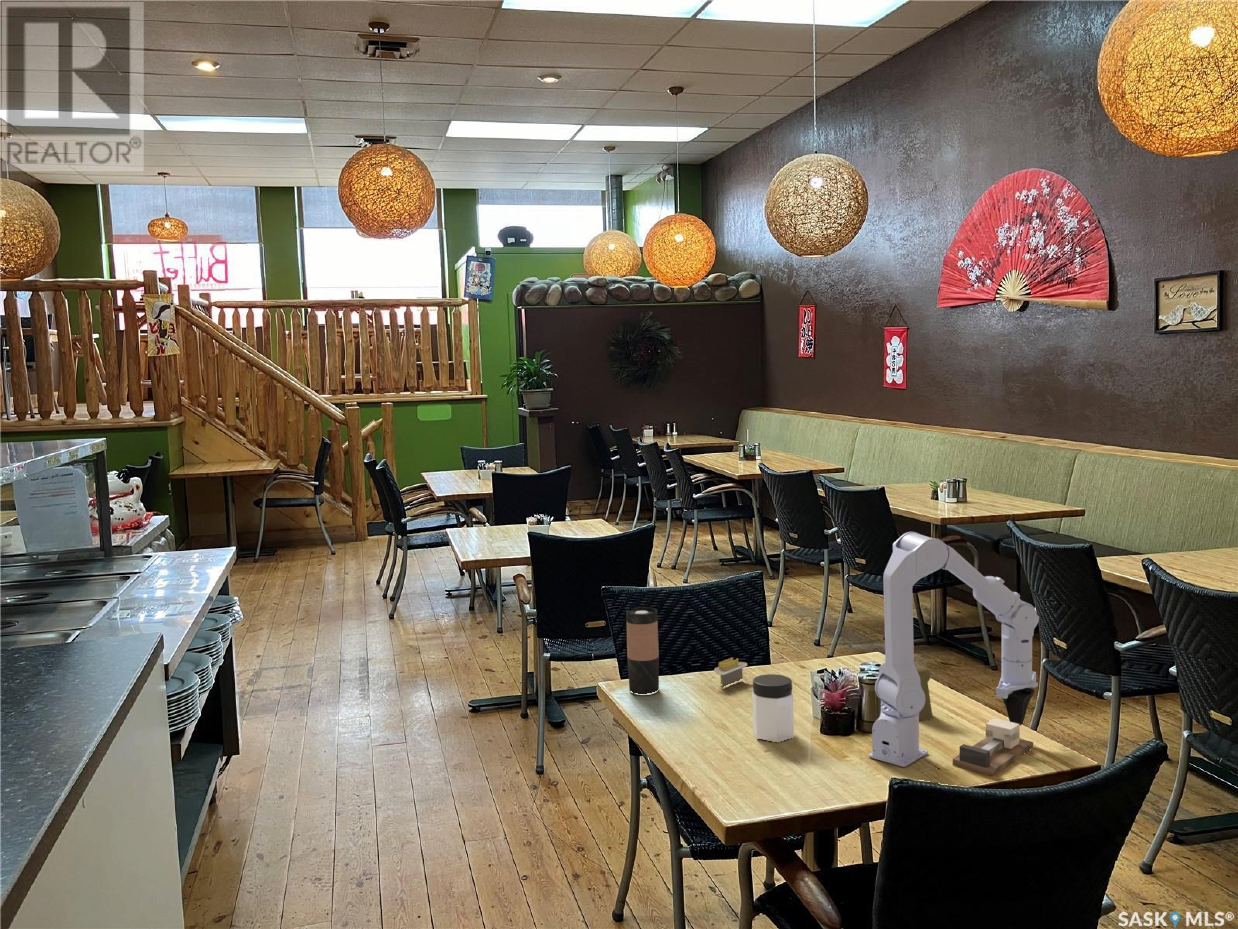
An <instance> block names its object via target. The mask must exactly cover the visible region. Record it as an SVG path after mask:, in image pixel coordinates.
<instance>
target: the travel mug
mask: <svg viewBox="0 0 1238 929" xmlns="http://www.w3.org/2000/svg"><path fill="white" fill-rule="evenodd" d="M625 616H626V646H627V647H626V648H627V649H626V652H627V654H626V656H627V672H628V687H629V688H628V689H629V692H630V691H632V692H633V693H638V694H647V693H652V692H655V691H657V690H658V689H660V670H659V669H660V663H659V662H660V661H659V660H660V657H659V656H660V654H659V653H660V651H659V628H658V627H659V626H658V610H657V609H656V608H654V607H649V606H637V607H634V608H633V609H632V610H629V609H627V610H626V614H625Z"/></svg>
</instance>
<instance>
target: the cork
mask: <svg viewBox="0 0 1238 929" xmlns="http://www.w3.org/2000/svg"><path fill="white" fill-rule="evenodd" d="M914 666H915V668H916V670H917V672H918V674H919V676H920V683H921V687H922V689H923V691H924V693H925V704H924V707H923V708H922V710H921V711H920V712H919V721H928V720H927V719H929V720H932V719H933V710H932V703H931V697H930V689H929V681H930V680H931V672H930V670H929V668H928V667H926V666H923V665H915V664H914Z"/></svg>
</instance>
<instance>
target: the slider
mask: <svg viewBox="0 0 1238 929" xmlns="http://www.w3.org/2000/svg"><path fill="white" fill-rule="evenodd" d="M1020 726H1021V725H1020V724H1017V723H1013V722H1010V721H1009V720H1004V719H1000V718H995V717H994V718H993V719H991V720H989V721H988V722H986V723H985V738H986V743H990V742H991V741H993V740H994V739H1000V740H1004V747H1005V748H1009V749H1012V748H1013V747H1015V746H1016V745H1018V744H1019V743H1020V739H1021V738H1020Z"/></svg>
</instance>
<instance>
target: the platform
mask: <svg viewBox="0 0 1238 929" xmlns="http://www.w3.org/2000/svg"><path fill="white" fill-rule="evenodd" d="M747 666H748V663H747V662H744V661H739V658H736V659H734V657H731V658H728V659H724V660H722V661H719V662H718V666H717V667H715V668H714V670H713V672H715V673H716V674H718V675H720V685H721V684H722V686H721V688H722V687H724V686H726V685H728V684H731V683H734V682H735V681H739V680H740V679H742V678H743V668H745V667H747ZM743 679H744V678H743Z"/></svg>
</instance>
